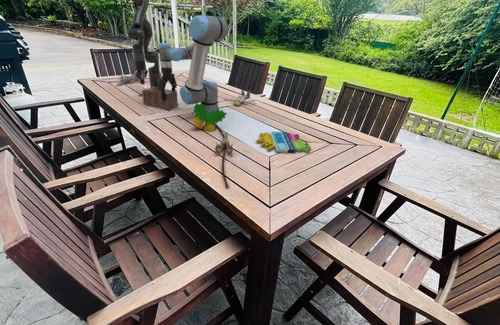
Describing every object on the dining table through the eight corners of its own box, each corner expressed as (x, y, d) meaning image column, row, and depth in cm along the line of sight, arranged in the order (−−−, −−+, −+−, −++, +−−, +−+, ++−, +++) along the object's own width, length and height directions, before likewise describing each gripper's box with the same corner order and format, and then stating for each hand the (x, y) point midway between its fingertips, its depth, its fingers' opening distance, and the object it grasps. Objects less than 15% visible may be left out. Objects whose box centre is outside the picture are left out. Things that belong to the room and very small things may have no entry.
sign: (313, 150, 142) (258, 149, 139) (312, 153, 143) (258, 152, 140) (301, 132, 164) (254, 130, 161) (301, 134, 165) (254, 133, 162)
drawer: (137, 102, 199) (135, 89, 195) (146, 99, 207) (144, 86, 203) (165, 107, 192) (163, 94, 187) (173, 104, 200) (172, 91, 195)
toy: (261, 91, 228) (254, 99, 202) (261, 99, 231) (253, 108, 205) (231, 87, 233) (220, 95, 207) (230, 95, 236) (219, 104, 210)
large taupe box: (145, 105, 197) (143, 89, 191) (155, 101, 206) (153, 86, 200) (169, 109, 191) (167, 94, 185) (178, 106, 200) (176, 91, 194)
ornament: (218, 133, 171) (224, 110, 169) (221, 134, 163) (227, 111, 161) (186, 125, 162) (192, 101, 160) (189, 126, 155) (195, 101, 153)
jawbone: (234, 135, 144) (233, 125, 135) (233, 160, 138) (232, 151, 129) (217, 135, 144) (216, 125, 135) (216, 160, 138) (214, 150, 129)
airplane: (112, 78, 264) (110, 67, 259) (144, 76, 278) (143, 66, 272) (114, 87, 236) (112, 76, 231) (151, 85, 249) (149, 74, 244)
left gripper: (141, 58, 194) (144, 81, 203) (128, 60, 183) (132, 85, 192) (149, 59, 192) (152, 83, 201) (136, 61, 181) (140, 86, 190)
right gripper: (172, 64, 193) (174, 94, 204) (150, 68, 174) (154, 101, 184) (180, 65, 191) (182, 95, 202) (159, 70, 172) (163, 103, 182)
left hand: (142, 84), depth 196 cm, fingers closed
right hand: (169, 98), depth 193 cm, fingers closed on large taupe box, 11 cm apart
